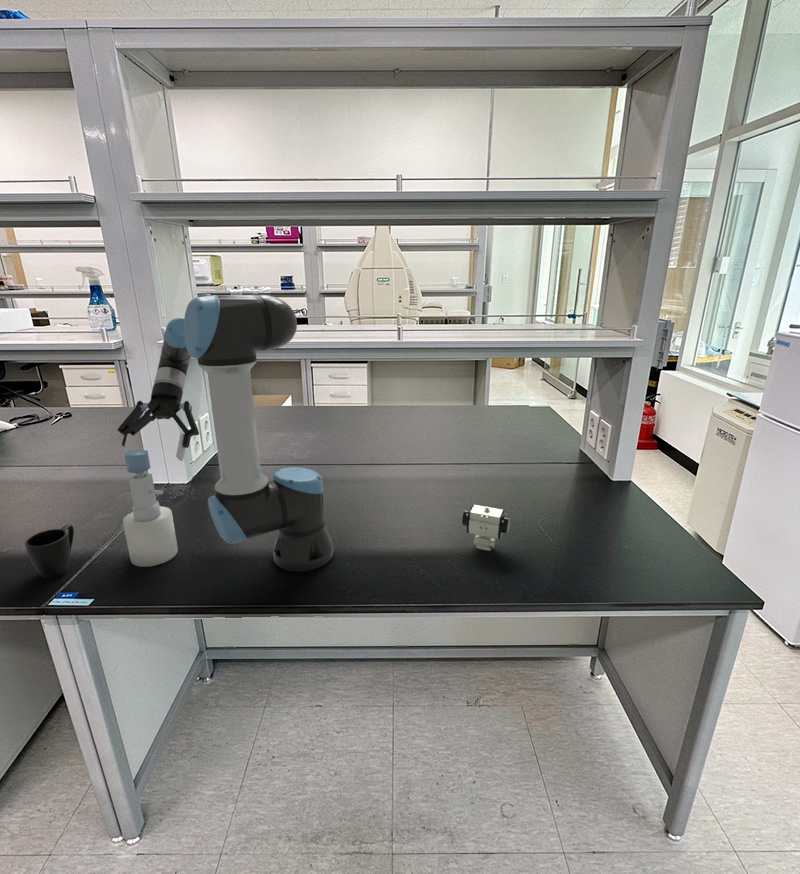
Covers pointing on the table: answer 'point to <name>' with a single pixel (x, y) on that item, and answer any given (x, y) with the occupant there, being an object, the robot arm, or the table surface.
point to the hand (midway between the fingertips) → (152, 458)
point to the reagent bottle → (149, 525)
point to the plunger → (137, 462)
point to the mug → (51, 551)
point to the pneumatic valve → (485, 525)
